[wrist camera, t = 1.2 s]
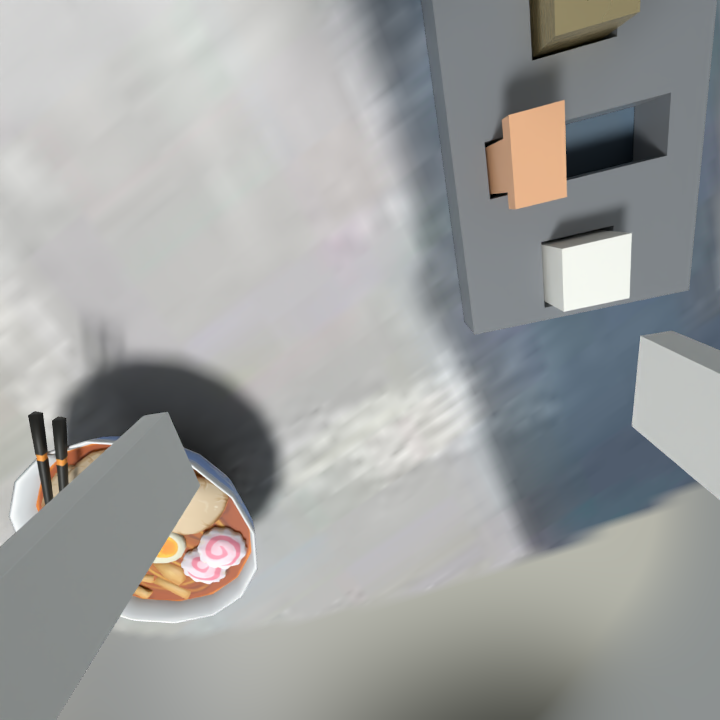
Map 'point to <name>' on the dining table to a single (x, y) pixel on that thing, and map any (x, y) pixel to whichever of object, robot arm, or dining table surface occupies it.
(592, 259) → the white button
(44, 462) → the ramen bowl
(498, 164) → the orange slider knob
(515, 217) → the panel
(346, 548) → the dining table surface
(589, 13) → the brass button
